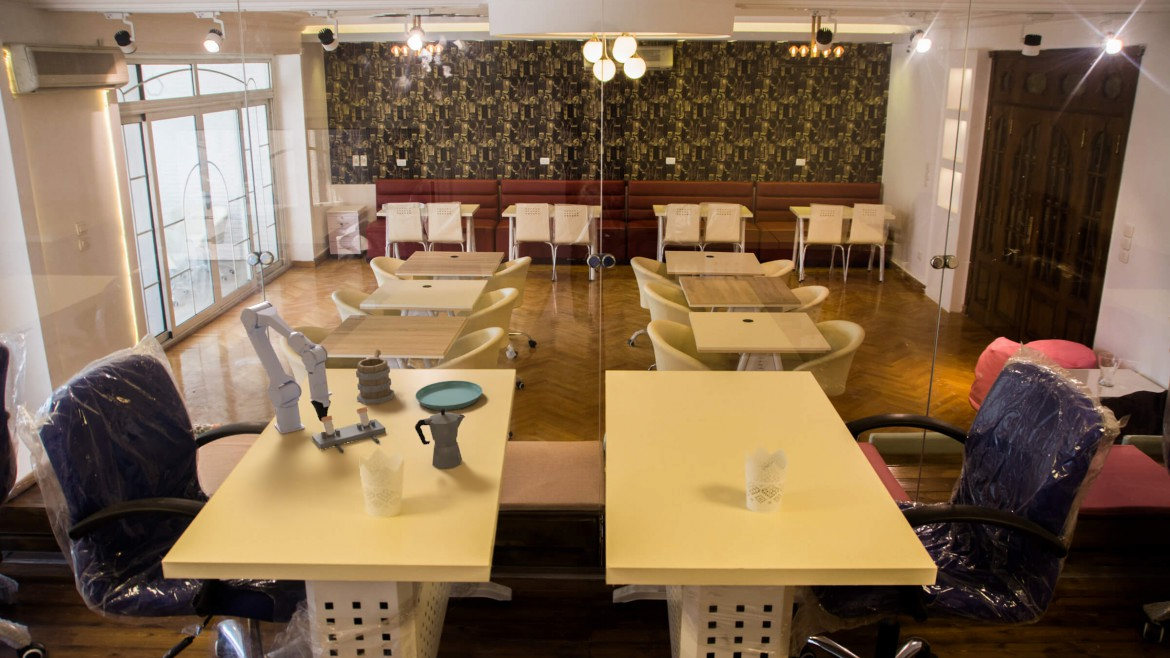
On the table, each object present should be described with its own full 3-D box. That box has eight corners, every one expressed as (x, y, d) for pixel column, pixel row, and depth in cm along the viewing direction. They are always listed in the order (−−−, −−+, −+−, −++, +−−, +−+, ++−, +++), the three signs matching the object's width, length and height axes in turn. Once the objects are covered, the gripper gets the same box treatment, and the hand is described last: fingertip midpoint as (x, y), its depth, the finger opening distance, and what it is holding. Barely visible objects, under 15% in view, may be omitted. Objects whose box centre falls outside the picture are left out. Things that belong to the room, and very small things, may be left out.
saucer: (406, 412, 318) (405, 403, 317) (428, 387, 341) (428, 379, 340) (472, 414, 314) (471, 405, 313) (490, 389, 337) (489, 381, 336)
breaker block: (312, 440, 296) (311, 430, 295) (376, 424, 307) (375, 414, 306) (327, 457, 284) (326, 446, 282) (393, 439, 295) (392, 429, 294)
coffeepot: (464, 453, 283) (460, 400, 278) (471, 465, 274) (467, 410, 269) (416, 462, 278) (410, 408, 273) (421, 474, 270) (416, 419, 264)
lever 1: (326, 437, 294) (321, 418, 295) (335, 434, 296) (330, 416, 297) (327, 436, 293) (322, 417, 293) (336, 434, 294) (331, 415, 295)
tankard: (389, 403, 326) (385, 364, 321) (354, 404, 326) (350, 365, 321) (400, 384, 345) (397, 347, 340) (368, 385, 345) (363, 348, 341)
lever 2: (361, 428, 300) (356, 409, 301) (370, 426, 302) (365, 407, 303) (362, 427, 299) (357, 409, 300) (371, 425, 300) (366, 406, 301)
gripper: (337, 385, 292) (341, 424, 296) (323, 373, 303) (328, 410, 307) (315, 390, 288) (320, 429, 292) (302, 378, 300) (307, 415, 304)
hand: (323, 420), depth 300 cm, fingers closed
